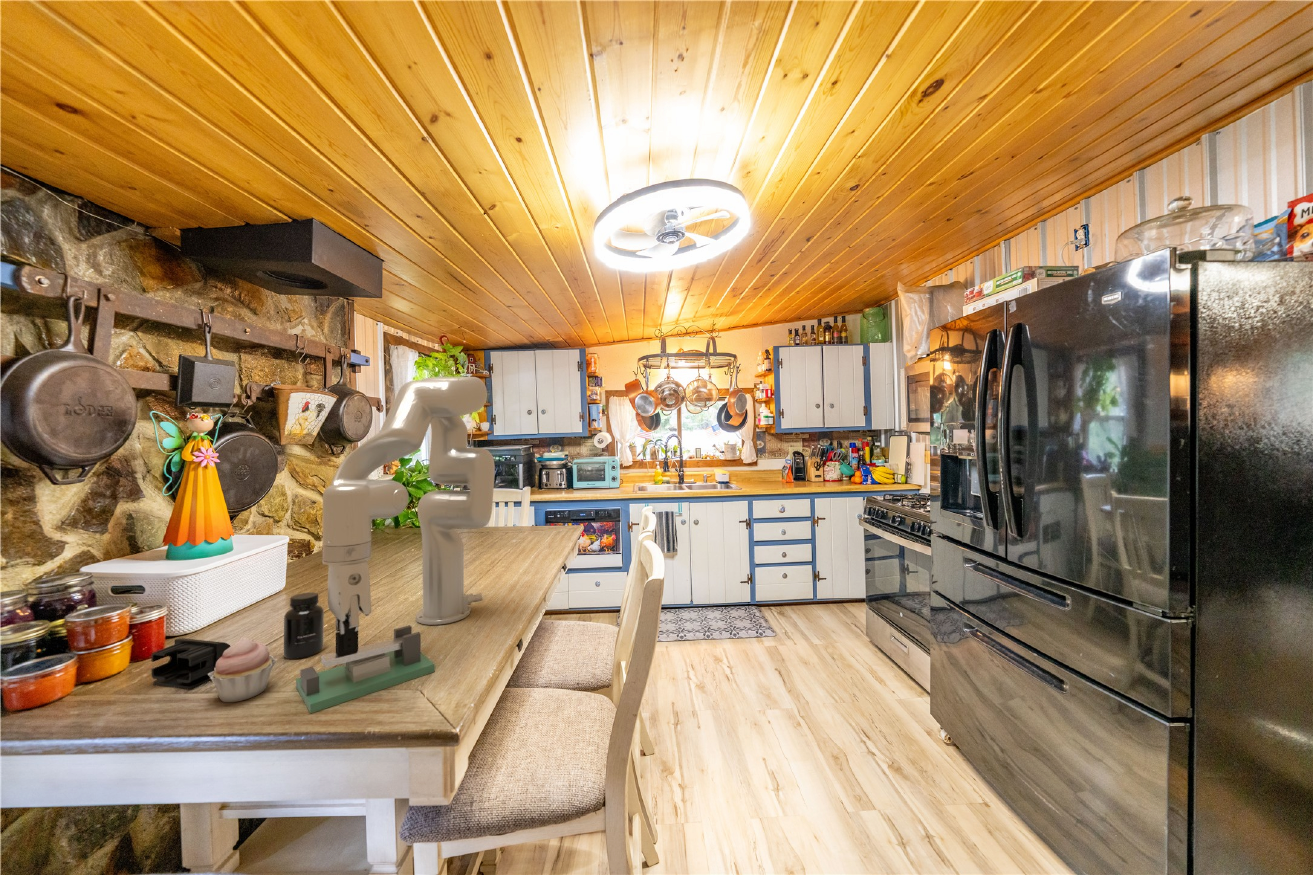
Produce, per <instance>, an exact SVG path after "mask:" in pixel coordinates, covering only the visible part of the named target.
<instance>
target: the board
mask: <svg viewBox="0 0 1313 875" xmlns="http://www.w3.org/2000/svg"><path fill="white" fill-rule="evenodd" d="M412 630H413V628H412V625H405V626H401V627H398V628H394V629H393V639H394V638H399V637H402V649H399V650H395V651H391V652H387V653H383V654H379V655H375V656H371V657H367V658H363V659H358V660H354V661H350V662H346V663H344V664H342V665H340V666H335V667H333V668H329V669H325V670H322V671H318V672H317V671H316V669H315V668H314V666H312V665H311V666H309V667H305V668H302V669H300V677H297V678H295V688H296V690H297V691H298V693H299V695H300V697H301V699H302V700H303V704H305V706H306V708H307V710H308V712H309V714H313V713H316V712H320V711H322V710H326V709H328V708H331V707H334V706H337V705H340V704H343V703H346V702H349V701H352V700H355V699H358V698H361V697H364V696H367V695H370V694H373V693H376V692H379V691H382V690H385V689H387V688H390V687H394V686H397V685H399V684H402V683H405V682H409V681H412V680H415V679H416V678H417V679H418V678H420V677H423V676H426V675H429V674H432V673H435V672H436V664H435V663H434V662H433V661H432V660H431V659H430V658H428V657H427V656H426V655H425V654H423V653H422V652H421V648H422V647H421V643H422V642H421V637H422V636H421V634H422V633H421V632H420V631H417V632H412ZM404 635H405V636H404Z"/></svg>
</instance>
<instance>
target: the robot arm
mask: <svg viewBox="0 0 1313 875" xmlns="http://www.w3.org/2000/svg"><path fill="white" fill-rule="evenodd" d="M487 399H488V389H487V387H486V385H485V383H484V381H483V380H482V379H481V378H479V377H476V376H433V377H431V376H430V377H425V378H423V379H421V380H420V379H417V380H411V381H408V382H406V383H404V384H402V386H400V388H399V390H398V392H397V394H396V396H395V398H394V401H393V403H392V404H391V407H390V409H389V411H388V413H387V415H386V418H385V419H384V422H383V424H382V426H381V427H380V430H379V431H378V432H377V434H374V435H373V436H371V437H370V438H369V439H367V440H366V441H364V442H362V443H361V444H360V445H359V446H357V447H356V448H355V449H354V450H353V451H351V452H350V453H349V454H348V455H347V456H346V457H345V458H344V459H343V460H342V461H341V463H340V465H339V466H338V467H337V470H336V472H335V473H334V476H333V477H332V480H331V481H330V484H329V486H327V487H326V488H325V489H324V491H323V493H322V560H321V561H322V565H325V566H326V565H327V566H328V569H327V571H328V573H327V605H328V609H329V611H330V612H331V614H333V615H334V616H335V652H336V654H337V655H338V657H340V656H345V655H349V654H353V653H356V652H358V647H359V627H360V612H361V613H362V614H363V615H364V616H365V617H367V616H370V615H371V613H372V596H371V581H370V580H371V577H370V570H369V569H370V568H369V564H368V563H369V562H368V561H369V560H371V559H372V520H377V519H378V520H380V519H383V520H385V519H391V518H395V517H397V516H399V515H400V514H402V513H403V511H404V510H405V509H406V508H407V505H409V504H408V503H409V497H410V496H409V492H408V490H407V488H406V486H404V485H403V484H402V483H401V482H398V481H396V480H390V479H367V478H368V477H369V476H370V475H371V474H372V473H373V472H374V471H376V470H377V469H380V468H381V467H382V466H385V465H386V464H389V463H391V462H394V461H397V460H399V459H401V458H404V457H407V456H410V455H411V454H413V453H416V452H417V451H419V449H421V446H422V444H423V442H424V439H425V436H426V434H427V432H428V430H429V426H430V427H431V440H430V441H431V442H430V452H429V463H428V476H429V479H430V480H431V482H433V483H434V484H439V485H446V486H447V485H448V486H469V490H458V489H451V490H450V489H439V490H432V491H428V492H426V493H425V494H424V495H423V496H421V498H420V499H419V501H418V504H417V517H418V521H419V526H420V532H421V540H422V541H421V542H422V543H421V546H422V547H421V548H422V609H421V610H419V611H418V612H417V613H416V614H415V621H416V622H417V623H419V624H422V625H427V626H436V625H447V624H451V623H455V622H458V621H460V620H463V619H465V618H467V617H468V616H469V615H470V614H471V607H470V605H472V603H478V602H482V601H483V599H484V598H483V594H482V593H477V594H474V593H467V594H466V593H465V591H464V590H465V587H464V586H465V584H464V582H465V581H464V580H465V579H464V578H465V577H464V576H465V574H464V573H465V572H464V568H465V567H464V565H465V564H464V563H465V562H464V558H465V557H464V556H465V554H464V553H465V552H464V550H465V549H464V542H463V539H462V537H461V535H460V533H459V532H458V531H457V530H478V529H479V530H480V529H483V528H485V527H486V526H487V525H488V524H489V523H490V520H491V517H492V511H493V501H494V488H495V487H494V486H495V473H496V471H495V470H496V467H495V465H496V464H495V460H494V457H493V454H492V453H491V452H490V451H489V450H488V449H486V448H482V447H468V428H467V424H466V423H465V421H464V419H463V418H462V417H464V416H466V415H469V414H472V413H475V412H478V411H480V410H481V409H482V408H483V407H484V406H485V405H486V402H487Z"/></svg>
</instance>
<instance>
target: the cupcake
mask: <svg viewBox="0 0 1313 875" xmlns="http://www.w3.org/2000/svg"><path fill="white" fill-rule="evenodd" d="M230 646H231V647H229V648H228V649H227V650H225V651H224V652H223V655H222V657H221V658H220V659H218V661H217V662H216V668H214V670H215V671H213V672H211V673H209V674H208V675H209V677H210V678H211V680H212V682H213V684H214V685H215V690H216V692H217V696H218V697H219V700H220V701H222V702H224V703H235V702H241V701H244V700H248V699H252V698H253V697H256V696H258V695H260V694H261V693H263V692H264V691H265V690H266V689H267V686H268V682H269V680H270V677H271V676H270V675H271V672H272V670H273V668H274V667H275V665H276V663H277V662H278V659H277V658H274V655H270V654H269V650H268V647H267V645H266V644H264V643H262V642H259V641H254V640H252V639H249V638H247V637H244V636H241V637H240V638H239V640H238V641H237V642H236V643H234V644H233V645H230Z"/></svg>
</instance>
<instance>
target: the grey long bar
mask: <svg viewBox="0 0 1313 875" xmlns="http://www.w3.org/2000/svg"><path fill="white" fill-rule="evenodd" d="M404 636H405V635H404ZM399 649H402V637H399V638H394V637H393V638H390V639H386V640H381V641H377V642H374V643H369V644H365V645H360V646H358V652H356V653H353V654H349V655H345V656H340V657H338V655H337V654H336V651H335V652H330V653H327V654H323V655H321V660H320V661H321V662H320V663H321V664H322V665H323V667H324V668H326V669H327V668H331V667H334V666H338V665H341V664H342V665H343V664H345V663H346V662H350V661H354V660H358V659H363V658H367V657H371V656H375V655H379V654H383V653H387V652H391V651H395V650H399Z"/></svg>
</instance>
